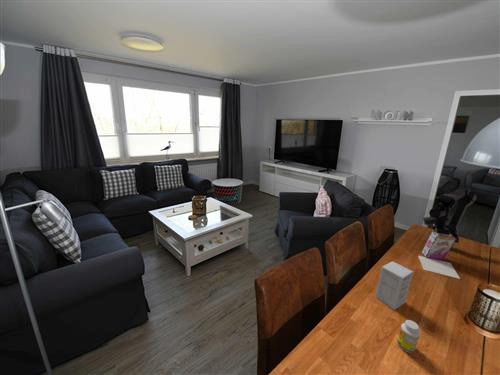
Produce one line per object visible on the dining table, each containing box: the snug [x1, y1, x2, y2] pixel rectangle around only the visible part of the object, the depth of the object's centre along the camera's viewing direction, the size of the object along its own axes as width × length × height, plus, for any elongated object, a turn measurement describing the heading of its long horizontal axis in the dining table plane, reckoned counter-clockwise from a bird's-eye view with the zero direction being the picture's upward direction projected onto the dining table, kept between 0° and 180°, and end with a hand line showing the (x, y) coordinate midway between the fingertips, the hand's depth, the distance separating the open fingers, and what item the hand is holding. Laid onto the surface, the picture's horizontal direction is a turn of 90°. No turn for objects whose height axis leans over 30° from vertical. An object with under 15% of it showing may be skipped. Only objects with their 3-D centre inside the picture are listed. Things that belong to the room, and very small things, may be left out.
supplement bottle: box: [396, 319, 421, 354], centre depth 82 cm, size 6×6×10 cm
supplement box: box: [374, 261, 414, 311], centre depth 103 cm, size 10×9×17 cm
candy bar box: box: [421, 231, 456, 261], centre depth 138 cm, size 11×5×16 cm, turn 84°
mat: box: [417, 255, 461, 280], centre depth 132 cm, size 16×16×1 cm
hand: (435, 238), depth 143 cm, fingers closed
